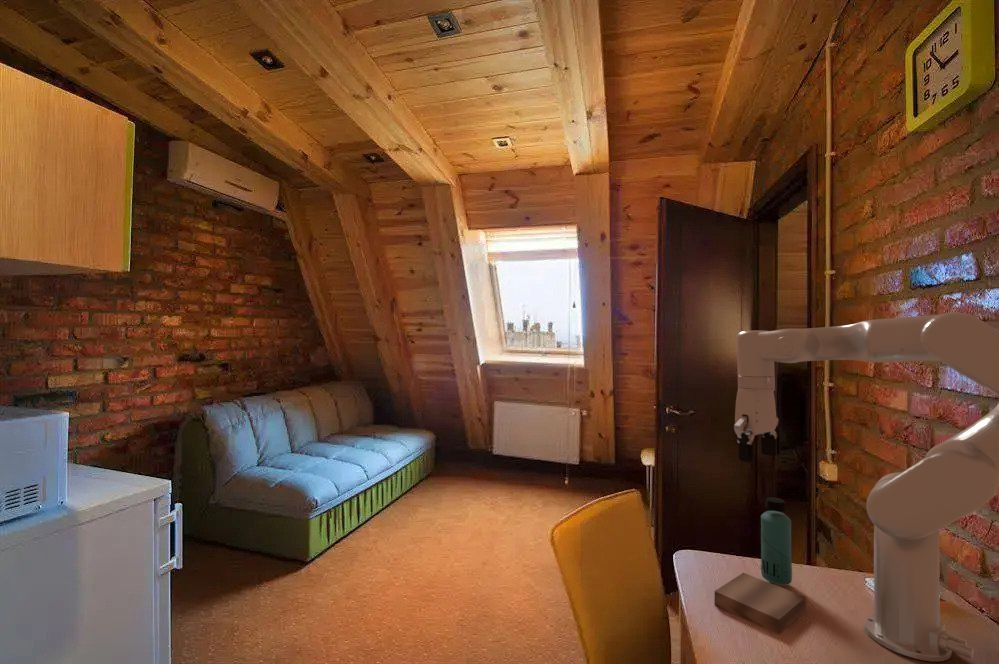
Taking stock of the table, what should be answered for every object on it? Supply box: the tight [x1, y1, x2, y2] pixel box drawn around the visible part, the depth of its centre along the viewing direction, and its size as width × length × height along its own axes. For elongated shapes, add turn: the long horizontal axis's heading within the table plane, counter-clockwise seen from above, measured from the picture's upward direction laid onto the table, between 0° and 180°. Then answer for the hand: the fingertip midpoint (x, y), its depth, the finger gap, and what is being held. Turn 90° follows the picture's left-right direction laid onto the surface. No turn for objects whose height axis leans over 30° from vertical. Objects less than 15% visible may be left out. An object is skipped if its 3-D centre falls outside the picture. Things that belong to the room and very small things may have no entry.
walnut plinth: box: [714, 572, 807, 636], centre depth 101 cm, size 13×13×3 cm
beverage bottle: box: [759, 497, 793, 586], centre depth 111 cm, size 6×7×20 cm
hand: (758, 458), depth 109 cm, fingers open, 9 cm apart
